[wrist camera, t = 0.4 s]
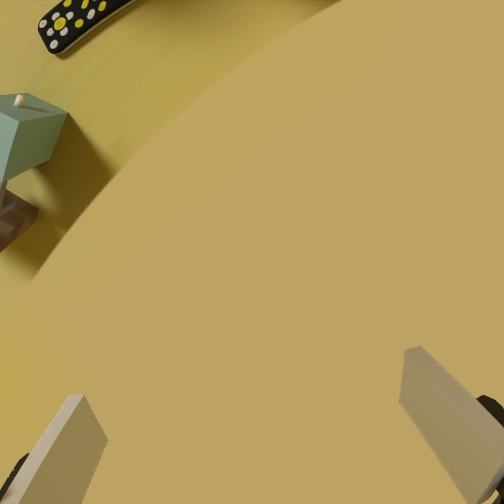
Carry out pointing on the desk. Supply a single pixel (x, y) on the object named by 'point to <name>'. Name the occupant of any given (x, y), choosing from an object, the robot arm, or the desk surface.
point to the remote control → (75, 21)
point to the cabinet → (25, 137)
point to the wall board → (16, 220)
